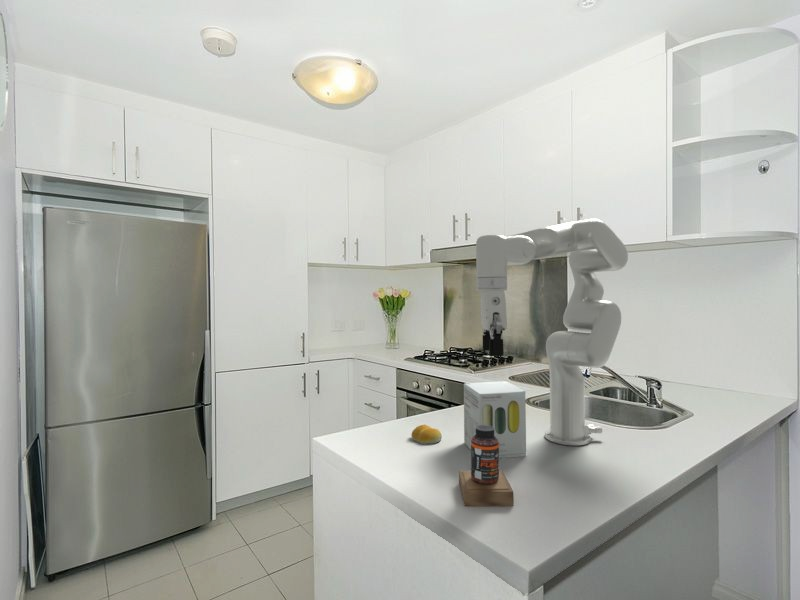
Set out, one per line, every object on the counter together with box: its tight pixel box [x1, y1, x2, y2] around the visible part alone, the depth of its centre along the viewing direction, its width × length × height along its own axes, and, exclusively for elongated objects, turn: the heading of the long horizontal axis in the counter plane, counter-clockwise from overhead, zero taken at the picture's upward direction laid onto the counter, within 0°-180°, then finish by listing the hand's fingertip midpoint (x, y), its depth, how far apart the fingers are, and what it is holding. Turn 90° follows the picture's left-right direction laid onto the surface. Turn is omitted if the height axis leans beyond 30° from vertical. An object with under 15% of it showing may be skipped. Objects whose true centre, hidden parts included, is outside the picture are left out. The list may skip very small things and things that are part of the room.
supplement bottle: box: [470, 425, 500, 484], centre depth 93 cm, size 6×6×11 cm
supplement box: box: [463, 380, 527, 459], centre depth 118 cm, size 13×13×18 cm
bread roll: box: [411, 424, 443, 445], centre depth 127 cm, size 8×9×4 cm
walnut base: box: [458, 470, 515, 507], centre depth 93 cm, size 10×10×3 cm
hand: (492, 352), depth 108 cm, fingers open, 9 cm apart
